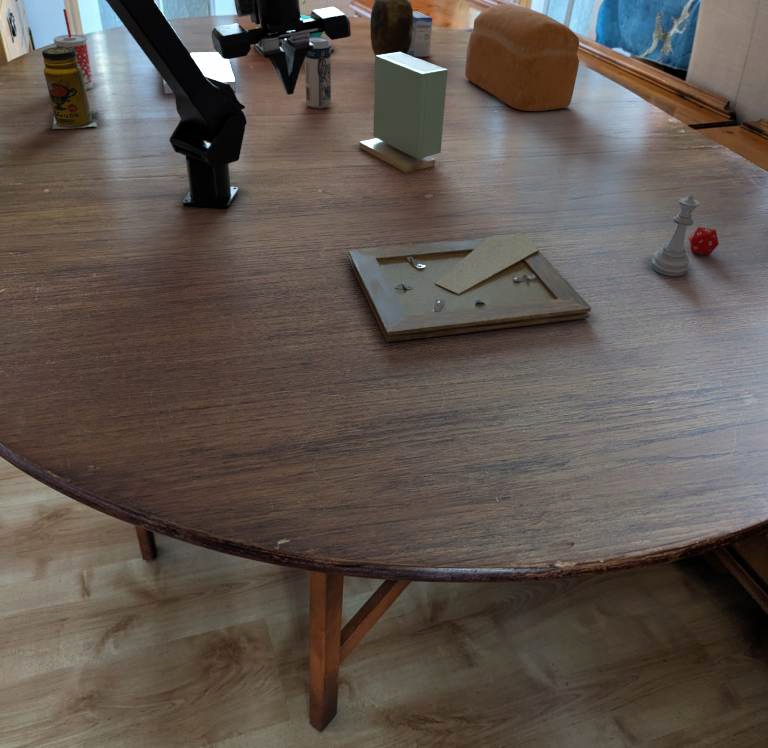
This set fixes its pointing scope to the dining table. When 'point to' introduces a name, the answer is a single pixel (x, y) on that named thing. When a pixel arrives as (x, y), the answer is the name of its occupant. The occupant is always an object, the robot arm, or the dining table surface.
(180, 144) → the robot arm
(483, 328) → the picture frame
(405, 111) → the green rectangular box
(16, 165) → the dining table surface
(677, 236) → the chess piece
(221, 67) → the book
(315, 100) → the beer can
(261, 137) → the dining table surface
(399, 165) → the shelf foot
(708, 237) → the die
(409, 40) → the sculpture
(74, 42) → the beverage cup
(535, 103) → the bread
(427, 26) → the medicine box
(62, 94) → the condiment
